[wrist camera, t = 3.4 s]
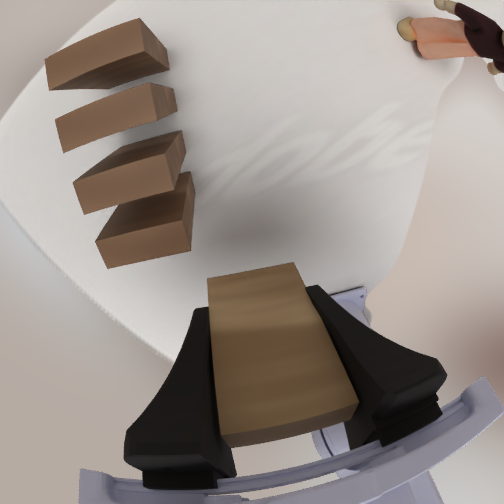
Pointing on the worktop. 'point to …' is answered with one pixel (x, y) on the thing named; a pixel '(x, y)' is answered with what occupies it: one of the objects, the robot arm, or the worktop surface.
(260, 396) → the domino
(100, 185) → the domino
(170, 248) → the domino
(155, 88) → the domino
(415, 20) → the grandmother figurine
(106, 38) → the domino
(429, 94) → the worktop surface
